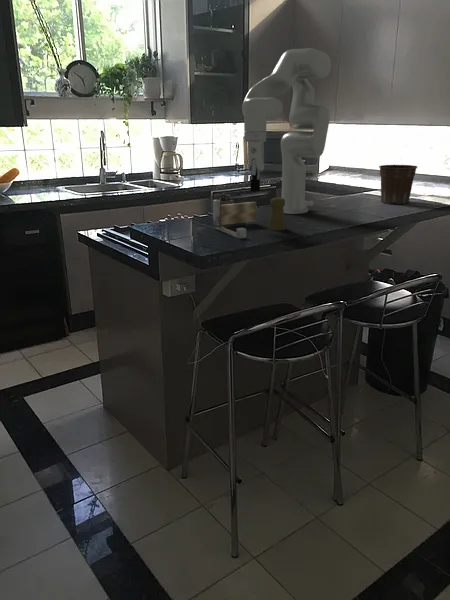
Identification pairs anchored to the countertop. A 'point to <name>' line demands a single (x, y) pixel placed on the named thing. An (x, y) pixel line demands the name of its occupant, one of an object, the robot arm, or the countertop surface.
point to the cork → (277, 214)
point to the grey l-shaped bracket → (239, 232)
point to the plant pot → (396, 183)
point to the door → (238, 213)
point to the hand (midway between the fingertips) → (255, 190)
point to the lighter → (223, 200)
